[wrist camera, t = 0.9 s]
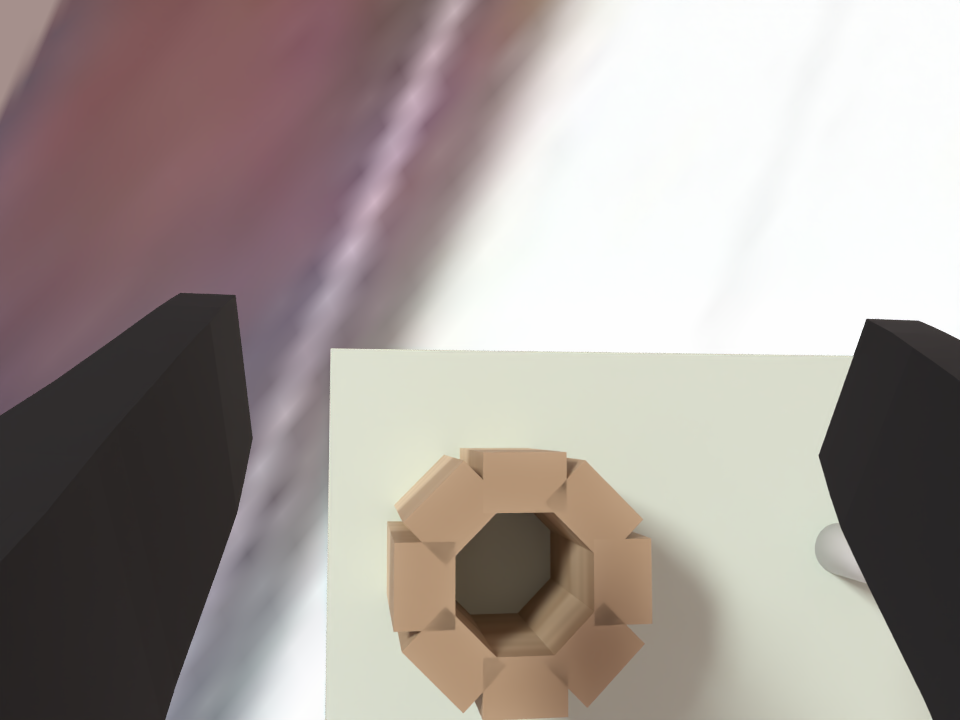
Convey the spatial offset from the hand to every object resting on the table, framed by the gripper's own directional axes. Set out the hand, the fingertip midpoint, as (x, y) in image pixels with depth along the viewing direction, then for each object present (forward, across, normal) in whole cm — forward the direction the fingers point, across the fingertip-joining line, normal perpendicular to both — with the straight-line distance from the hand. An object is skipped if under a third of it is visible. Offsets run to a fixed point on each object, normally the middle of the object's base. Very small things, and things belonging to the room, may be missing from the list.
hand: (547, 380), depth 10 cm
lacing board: (+8, -5, +11) cm, 14 cm away
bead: (+7, 0, +10) cm, 12 cm away
